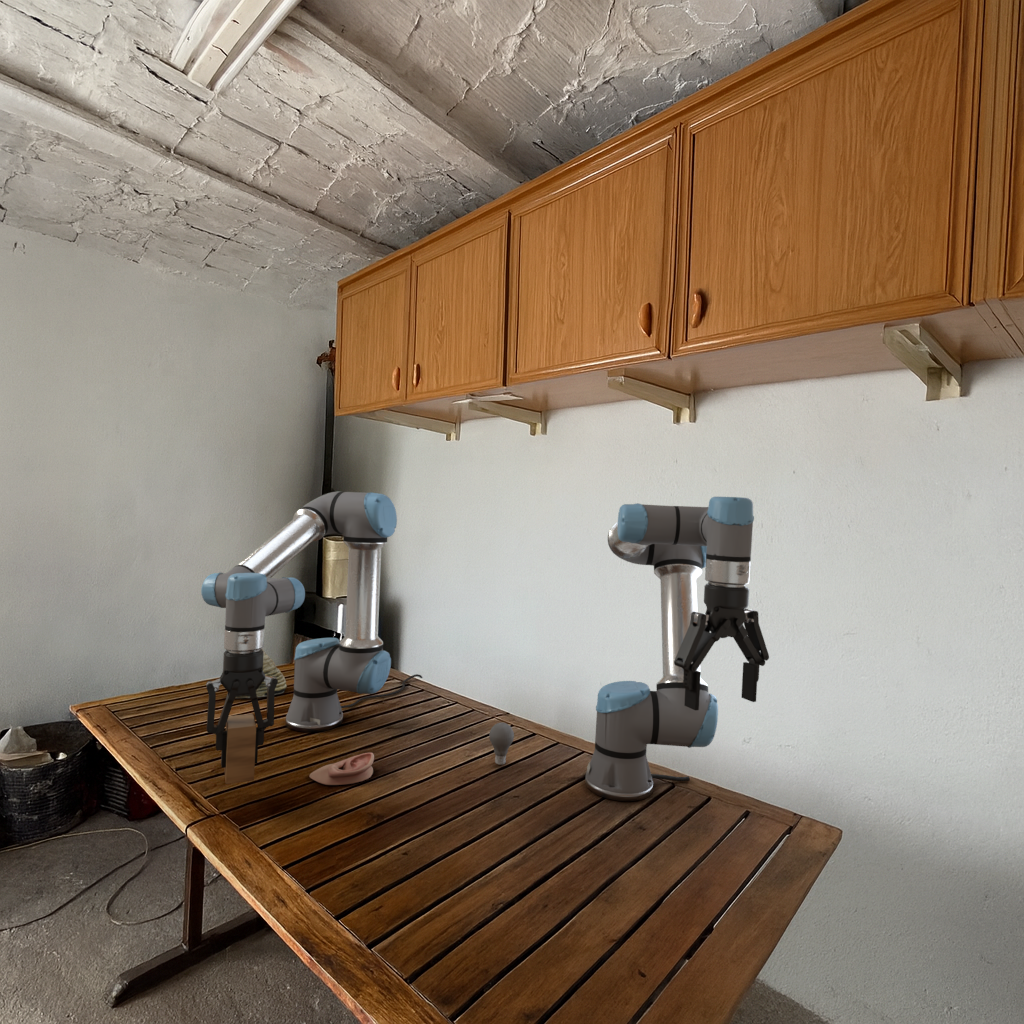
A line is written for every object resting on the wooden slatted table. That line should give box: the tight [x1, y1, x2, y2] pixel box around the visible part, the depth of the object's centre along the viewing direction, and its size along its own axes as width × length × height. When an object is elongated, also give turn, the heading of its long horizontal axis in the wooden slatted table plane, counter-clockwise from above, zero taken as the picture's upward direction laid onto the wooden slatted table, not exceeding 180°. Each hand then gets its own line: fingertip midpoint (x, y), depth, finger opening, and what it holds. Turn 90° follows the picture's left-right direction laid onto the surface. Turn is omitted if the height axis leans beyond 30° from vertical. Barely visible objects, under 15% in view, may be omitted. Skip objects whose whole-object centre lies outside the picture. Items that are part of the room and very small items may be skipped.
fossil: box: [235, 648, 288, 699], centre depth 198 cm, size 9×18×15 cm, turn 132°
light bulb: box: [488, 722, 515, 766], centre depth 154 cm, size 6×6×10 cm
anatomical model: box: [308, 751, 375, 786], centre depth 144 cm, size 13×4×12 cm
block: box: [223, 713, 257, 785], centre depth 129 cm, size 8×5×11 cm
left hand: (239, 762), depth 129 cm, fingers closed on block, 5 cm apart
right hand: (720, 703), depth 112 cm, fingers open, 13 cm apart
